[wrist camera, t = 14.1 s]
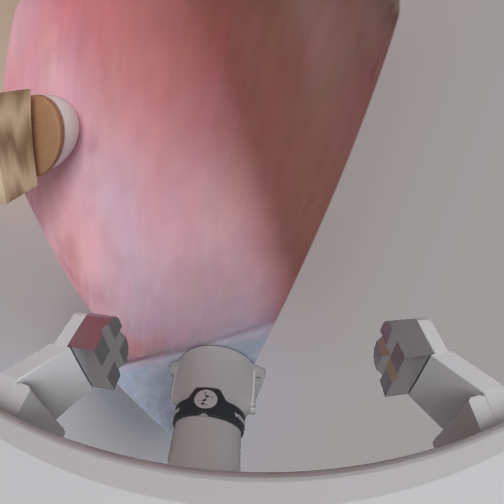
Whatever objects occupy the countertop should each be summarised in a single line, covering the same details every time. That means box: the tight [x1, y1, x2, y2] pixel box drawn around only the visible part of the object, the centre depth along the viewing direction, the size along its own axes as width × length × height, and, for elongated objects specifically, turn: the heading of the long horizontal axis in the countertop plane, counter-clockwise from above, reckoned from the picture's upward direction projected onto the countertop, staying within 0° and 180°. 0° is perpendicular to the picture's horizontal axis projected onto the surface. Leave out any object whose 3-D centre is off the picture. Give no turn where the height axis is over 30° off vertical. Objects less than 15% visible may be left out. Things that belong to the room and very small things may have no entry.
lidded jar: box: [31, 95, 79, 177], centre depth 30 cm, size 11×11×9 cm
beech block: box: [0, 89, 38, 204], centre depth 23 cm, size 12×4×6 cm, turn 177°
